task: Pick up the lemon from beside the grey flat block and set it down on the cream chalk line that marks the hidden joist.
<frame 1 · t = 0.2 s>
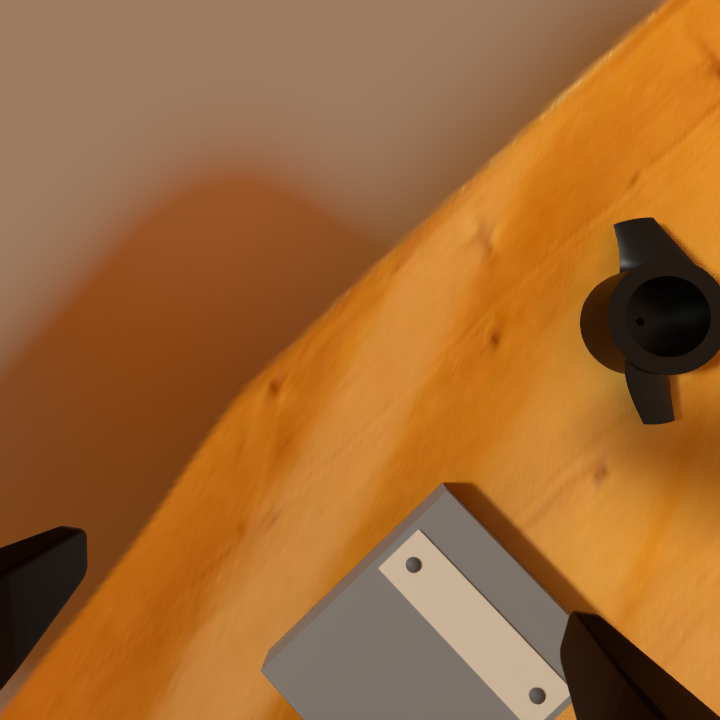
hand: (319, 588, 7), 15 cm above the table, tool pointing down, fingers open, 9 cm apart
black piece: (627, 324, 22), on the table
grey flat block: (429, 646, 22), on the table
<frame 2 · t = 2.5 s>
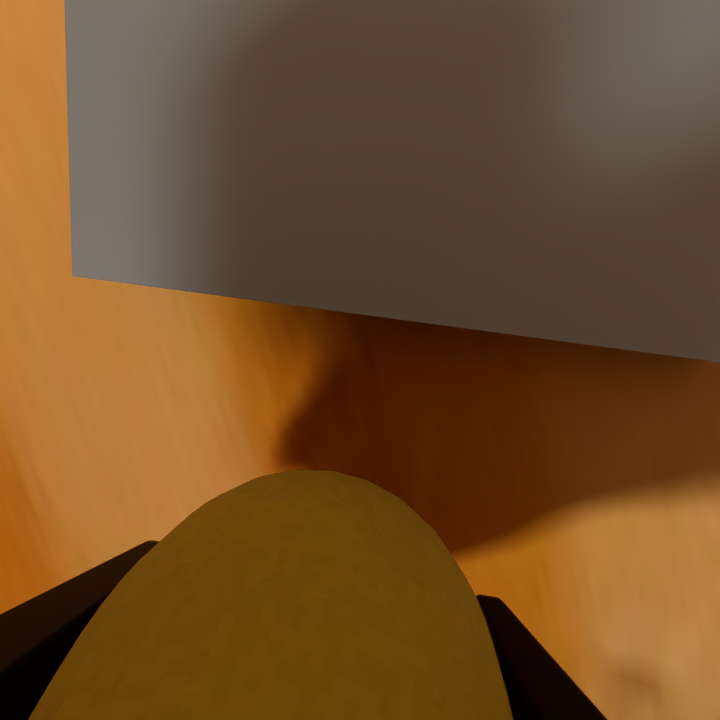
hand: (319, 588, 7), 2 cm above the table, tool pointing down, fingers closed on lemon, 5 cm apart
lemon: (335, 515, 9), on the table, touching gripper
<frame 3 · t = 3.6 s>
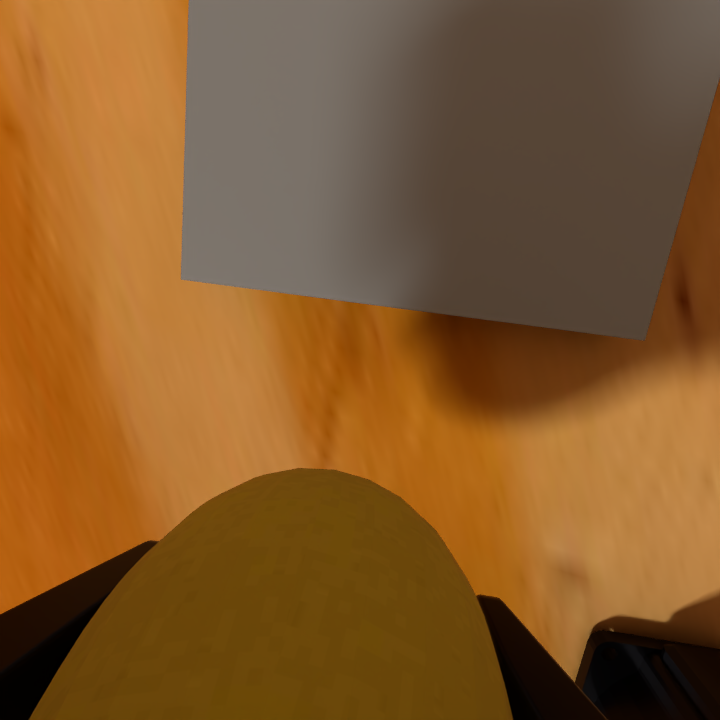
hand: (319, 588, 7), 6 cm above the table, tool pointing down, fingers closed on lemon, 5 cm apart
lemon: (335, 514, 9), point 3 cm above the table, touching gripper
grey flat block: (444, 34, 10), on the table
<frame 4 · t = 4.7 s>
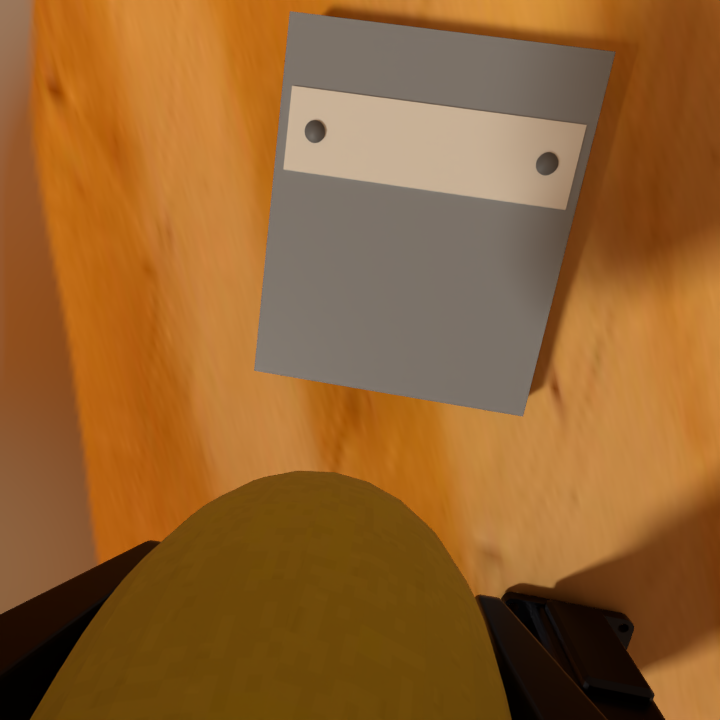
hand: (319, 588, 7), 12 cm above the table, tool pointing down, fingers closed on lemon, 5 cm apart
lemon: (335, 516, 9), point 10 cm above the table, touching gripper
grey flat block: (412, 233, 17), on the table
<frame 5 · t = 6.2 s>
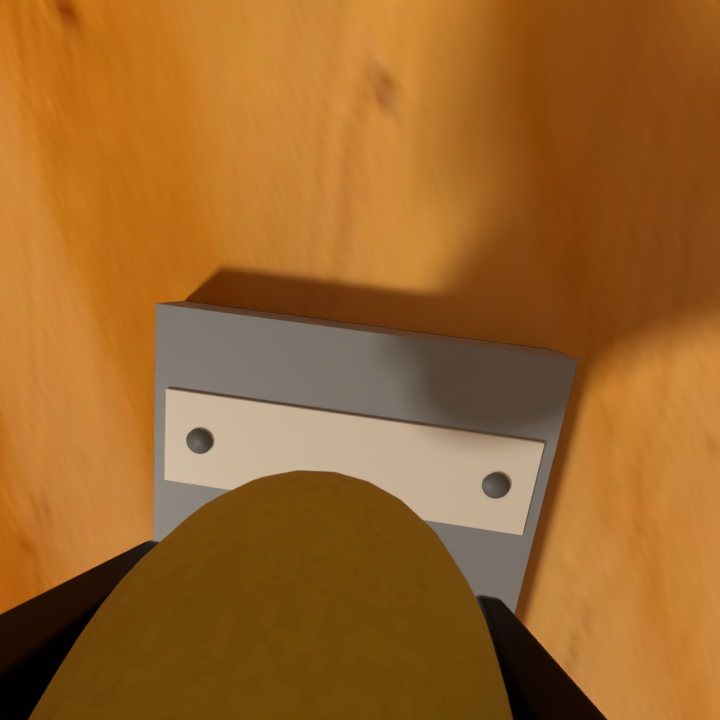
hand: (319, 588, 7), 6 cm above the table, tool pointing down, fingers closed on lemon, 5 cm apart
lemon: (335, 516, 9), point 4 cm above the table, touching gripper
grey flat block: (340, 518, 14), on the table
when the fingers open (4 cm above the table, at t = 7.0 s): lemon stays where it is, resting on grey flat block.
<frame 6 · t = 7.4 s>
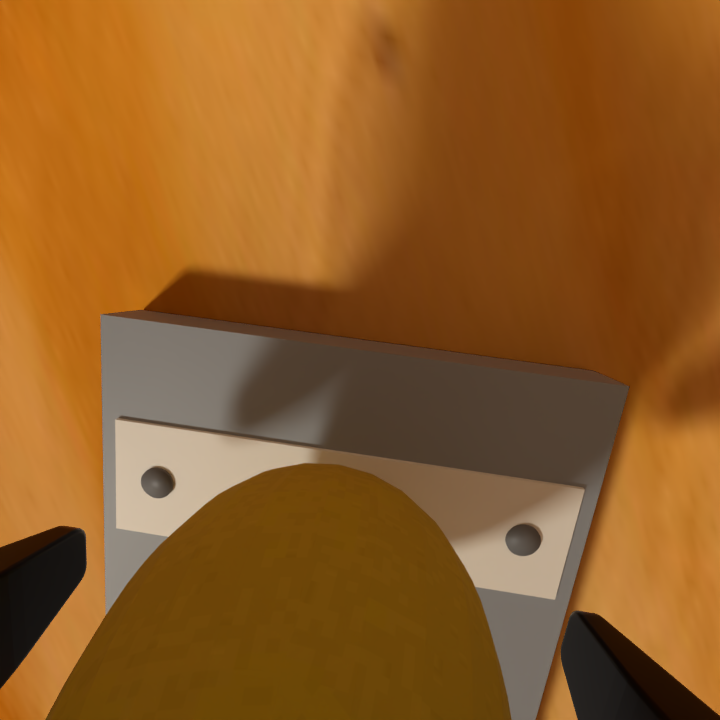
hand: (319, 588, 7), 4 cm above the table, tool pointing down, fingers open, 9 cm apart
lemon: (338, 508, 10), point 1 cm above the table, touching grey flat block
grey flat block: (332, 567, 12), on the table
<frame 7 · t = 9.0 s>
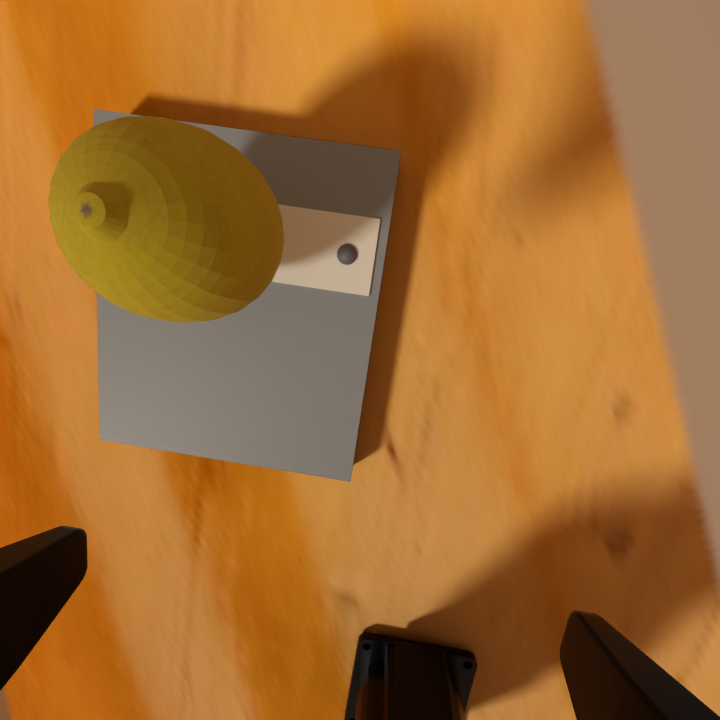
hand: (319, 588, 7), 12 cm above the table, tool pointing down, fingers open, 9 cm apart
lemon: (239, 241, 16), point 1 cm above the table, touching grey flat block
grey flat block: (245, 308, 18), on the table
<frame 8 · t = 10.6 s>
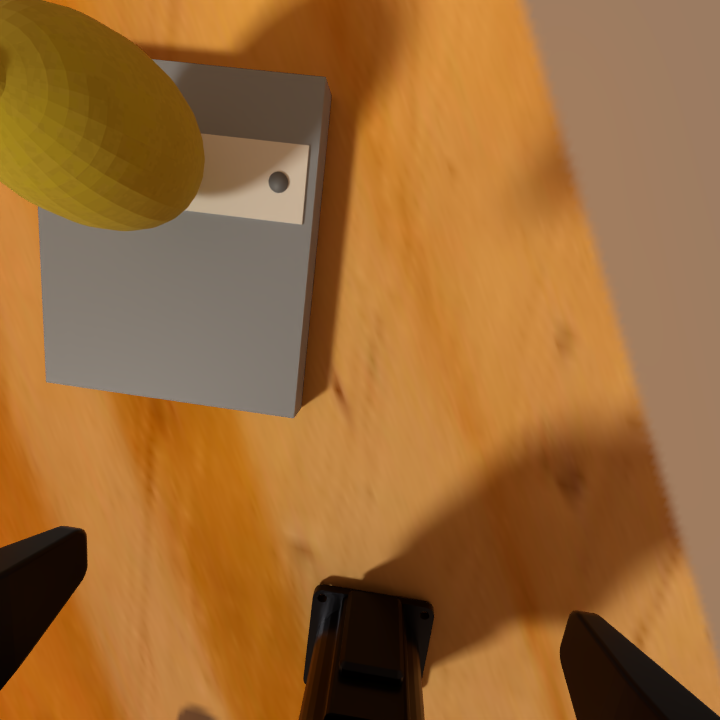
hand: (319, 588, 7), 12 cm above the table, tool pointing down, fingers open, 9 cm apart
lemon: (175, 173, 16), point 1 cm above the table, touching grey flat block
grey flat block: (189, 248, 18), on the table
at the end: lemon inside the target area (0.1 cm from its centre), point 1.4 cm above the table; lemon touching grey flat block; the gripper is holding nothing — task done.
